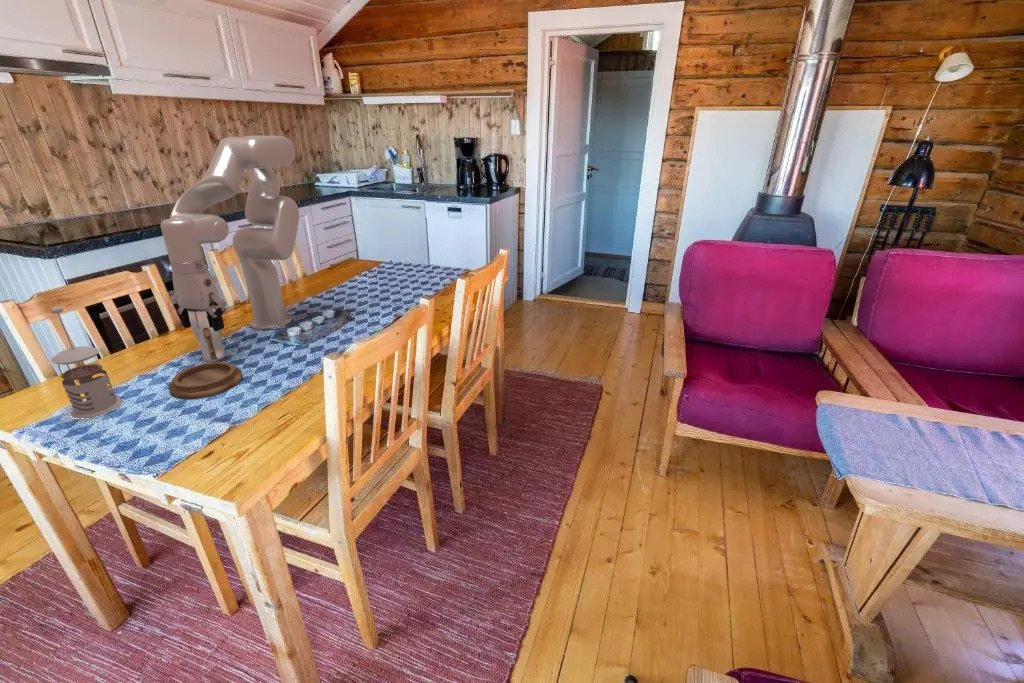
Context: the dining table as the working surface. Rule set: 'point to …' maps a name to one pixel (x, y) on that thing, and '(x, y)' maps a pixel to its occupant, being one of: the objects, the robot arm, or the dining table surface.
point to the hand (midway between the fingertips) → (204, 328)
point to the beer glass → (207, 335)
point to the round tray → (205, 380)
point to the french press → (85, 381)
